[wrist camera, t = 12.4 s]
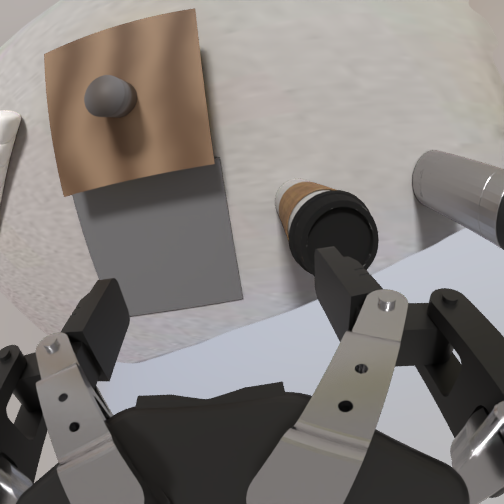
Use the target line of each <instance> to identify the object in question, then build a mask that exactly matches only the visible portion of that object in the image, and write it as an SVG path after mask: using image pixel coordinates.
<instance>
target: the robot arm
mask: <svg viewBox="0 0 504 504" xmlns="http://www.w3.org/2000/svg"><path fill="white" fill-rule="evenodd" d="M413 189H414V193H415V195H416V198H417V199H418V200H419V202H420V203H422V204H423V205H425V206H427V207H429V208H431V209H433V210H435V211H436V212H438V213H440V214H442V215H444V216H446V217H448V218H450V219H451V220H453V221H455V222H457V223H459V224H461V225H462V226H464V227H466V228H468V229H470V230H471V231H473V232H475V233H477V234H478V235H480V236H482V237H483V238H485V239H487V240H489V241H490V242H492V243H494V244H495V245H497V246H498V247H500V248H502V249H503V250H504V169H501V168H498V167H495V166H492V165H489V164H485V163H482V162H479V161H475V160H472V159H468V158H465V157H461V156H457V155H454V154H450V153H446V152H442V151H437V150H432V151H428V152H427V153H425V154H424V155H423V156H422V157H421V158H420V159H419V160H418V162H417V164H416V166H415V169H414V173H413ZM314 260H315V290H316V294H317V298H318V300H319V302H320V304H321V306H322V308H323V310H324V311H325V313H326V315H327V317H328V319H329V321H330V323H331V325H332V327H333V329H334V331H335V333H336V335H337V337H338V339H339V341H340V344H339V346H338V348H337V350H336V352H335V354H334V356H333V358H332V360H331V362H330V364H329V366H328V368H327V370H326V372H325V374H324V375H323V377H322V379H321V381H320V383H319V385H318V387H317V388H316V390H315V392H314V394H313V395H312V396H310V395H306V394H302V393H294V392H285V391H284V386H283V382H277V383H271V384H265V385H259V386H252V387H245V388H242V389H239V390H236V391H233V392H230V393H227V394H224V395H221V396H218V397H214V398H211V399H198V398H190V397H183V396H176V395H152V396H151V395H150V396H138V398H137V403H136V406H135V407H132V408H128V409H125V410H123V411H121V412H119V413H117V414H115V415H113V414H112V412H111V411H110V409H109V408H108V406H107V404H106V402H105V400H104V398H103V397H102V395H101V393H100V391H99V389H98V388H97V386H96V384H97V381H110V378H111V375H112V372H113V369H114V366H115V363H116V360H117V357H118V354H119V351H120V348H121V346H122V343H123V340H124V337H125V334H126V332H127V329H128V326H129V322H130V316H129V311H128V308H127V305H126V303H125V300H124V297H123V294H122V292H121V289H120V286H119V283H118V281H117V280H116V279H115V278H110V279H103V280H98V281H97V282H96V284H95V285H94V287H93V288H92V290H91V291H90V293H88V294H87V295H86V296H85V297H84V298H82V299H81V300H80V302H79V303H78V305H77V306H76V309H75V310H74V311H73V313H72V315H71V316H70V318H69V319H68V321H67V322H66V324H65V326H64V327H63V329H62V331H61V332H58V333H53V334H50V335H48V336H47V337H45V338H44V339H43V340H41V341H40V343H39V344H38V346H37V347H36V352H35V353H31V354H28V355H25V356H24V355H23V354H22V352H21V351H20V349H19V347H18V346H16V345H10V346H7V347H5V348H3V349H1V350H0V504H479V503H480V502H482V501H484V500H485V499H487V498H488V497H489V498H493V497H498V496H500V495H502V494H503V493H504V337H503V336H502V335H501V333H500V332H499V331H498V330H497V329H496V328H495V327H494V326H493V325H492V324H491V323H490V322H489V320H488V319H487V318H486V317H485V316H484V315H483V314H482V313H481V312H480V311H479V310H478V309H477V308H476V307H475V306H474V305H473V304H472V303H471V302H470V301H469V300H468V299H467V298H466V297H465V296H464V295H463V294H461V293H460V292H458V291H455V290H452V289H446V288H444V289H438V290H435V291H434V292H433V293H432V294H431V296H430V301H429V303H408V301H407V299H406V297H404V295H402V294H401V293H399V292H397V291H393V290H387V289H383V288H382V287H381V286H380V285H379V284H378V283H377V282H376V280H375V279H374V278H373V277H372V276H371V275H370V274H369V273H368V271H367V270H366V269H364V267H363V266H362V265H361V264H360V263H359V262H358V261H357V260H355V259H353V258H351V257H349V256H347V257H343V256H342V255H341V254H340V252H339V251H338V250H337V249H336V248H335V247H334V246H333V247H326V248H320V249H316V250H315V254H314ZM453 349H455V351H456V352H457V353H458V355H459V356H460V359H461V363H462V365H461V364H460V362H459V361H458V359H457V358H456V357H455V355H454V354H453V352H452V351H453ZM414 365H415V367H416V368H417V370H418V372H419V373H420V375H421V377H422V379H423V380H424V382H425V383H426V385H427V387H428V389H429V391H430V393H431V394H432V396H433V398H434V400H435V401H436V403H437V405H438V407H439V409H440V411H441V413H442V414H443V416H444V418H445V420H446V422H447V424H448V426H449V427H450V430H451V432H452V434H453V436H454V438H455V439H454V440H453V442H452V445H451V450H450V452H451V458H452V466H453V468H452V467H451V466H449V465H447V464H446V463H444V462H442V461H439V460H437V459H435V458H433V457H431V456H428V455H426V454H424V453H422V452H420V451H418V450H416V449H413V448H411V447H409V446H407V445H405V444H403V443H401V442H399V441H397V440H395V439H393V438H391V437H389V436H387V435H385V434H383V433H382V432H380V431H378V430H376V429H375V428H376V426H377V423H378V420H379V417H380V414H381V411H382V408H383V405H384V402H385V399H386V395H387V392H388V389H389V386H390V382H391V378H392V375H393V371H394V368H395V366H414ZM12 393H13V394H14V395H15V396H16V398H17V399H18V400H19V401H20V403H21V404H22V405H21V407H20V410H19V412H18V415H17V417H16V420H15V422H14V424H13V423H12V422H11V421H10V420H9V418H8V416H7V413H6V407H7V404H8V402H9V399H10V397H11V395H12ZM47 430H48V433H49V435H50V439H51V442H52V445H53V448H54V451H55V453H56V456H57V459H58V463H57V464H56V465H55V466H54V467H53V468H52V469H51V470H49V471H48V472H47V473H46V474H45V475H43V476H42V477H41V478H40V479H39V480H38V481H36V482H35V483H34V479H35V475H36V471H37V467H38V463H39V459H40V455H41V451H42V447H43V444H44V440H45V437H46V434H47Z"/></svg>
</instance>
